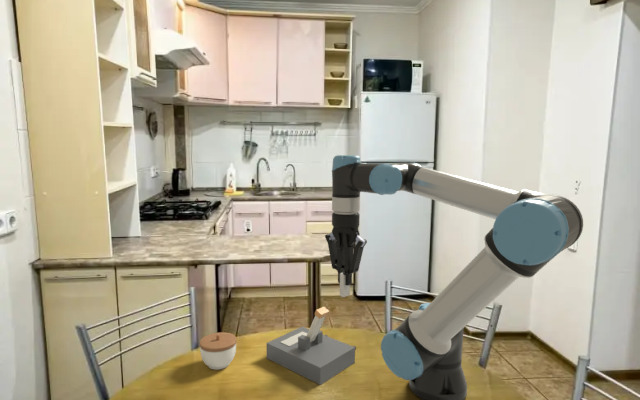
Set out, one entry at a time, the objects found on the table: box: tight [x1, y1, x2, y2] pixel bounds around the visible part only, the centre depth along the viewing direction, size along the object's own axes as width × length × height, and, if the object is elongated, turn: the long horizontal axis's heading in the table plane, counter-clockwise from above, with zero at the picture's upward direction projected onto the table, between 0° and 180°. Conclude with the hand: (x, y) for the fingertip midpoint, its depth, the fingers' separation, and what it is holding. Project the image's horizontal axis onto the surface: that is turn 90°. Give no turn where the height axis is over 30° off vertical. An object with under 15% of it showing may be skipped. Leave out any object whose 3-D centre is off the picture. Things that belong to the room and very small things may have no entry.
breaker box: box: [266, 326, 356, 386], centre depth 129 cm, size 22×16×8 cm
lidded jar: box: [199, 331, 237, 371], centre depth 126 cm, size 11×11×9 cm
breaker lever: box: [307, 306, 330, 342], centre depth 126 cm, size 2×4×12 cm, turn 139°
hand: (344, 295), depth 118 cm, fingers closed
